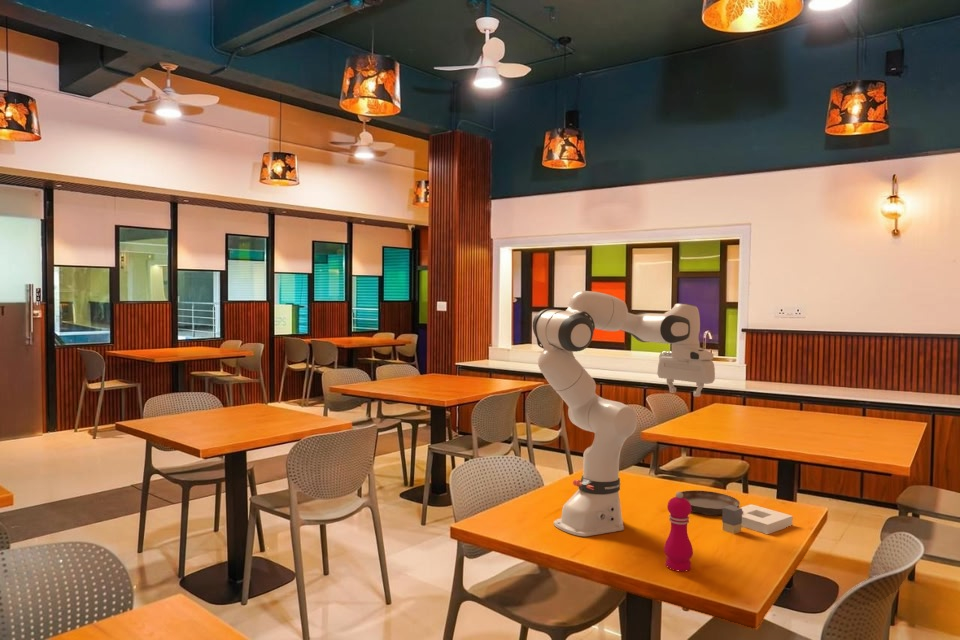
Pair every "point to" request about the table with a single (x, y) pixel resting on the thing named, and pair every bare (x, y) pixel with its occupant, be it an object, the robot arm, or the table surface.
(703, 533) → the table surface
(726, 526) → the plug
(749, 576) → the table surface
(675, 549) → the pepper mill
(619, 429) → the robot arm
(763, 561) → the table surface
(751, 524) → the socket plate
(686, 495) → the plant saucer
